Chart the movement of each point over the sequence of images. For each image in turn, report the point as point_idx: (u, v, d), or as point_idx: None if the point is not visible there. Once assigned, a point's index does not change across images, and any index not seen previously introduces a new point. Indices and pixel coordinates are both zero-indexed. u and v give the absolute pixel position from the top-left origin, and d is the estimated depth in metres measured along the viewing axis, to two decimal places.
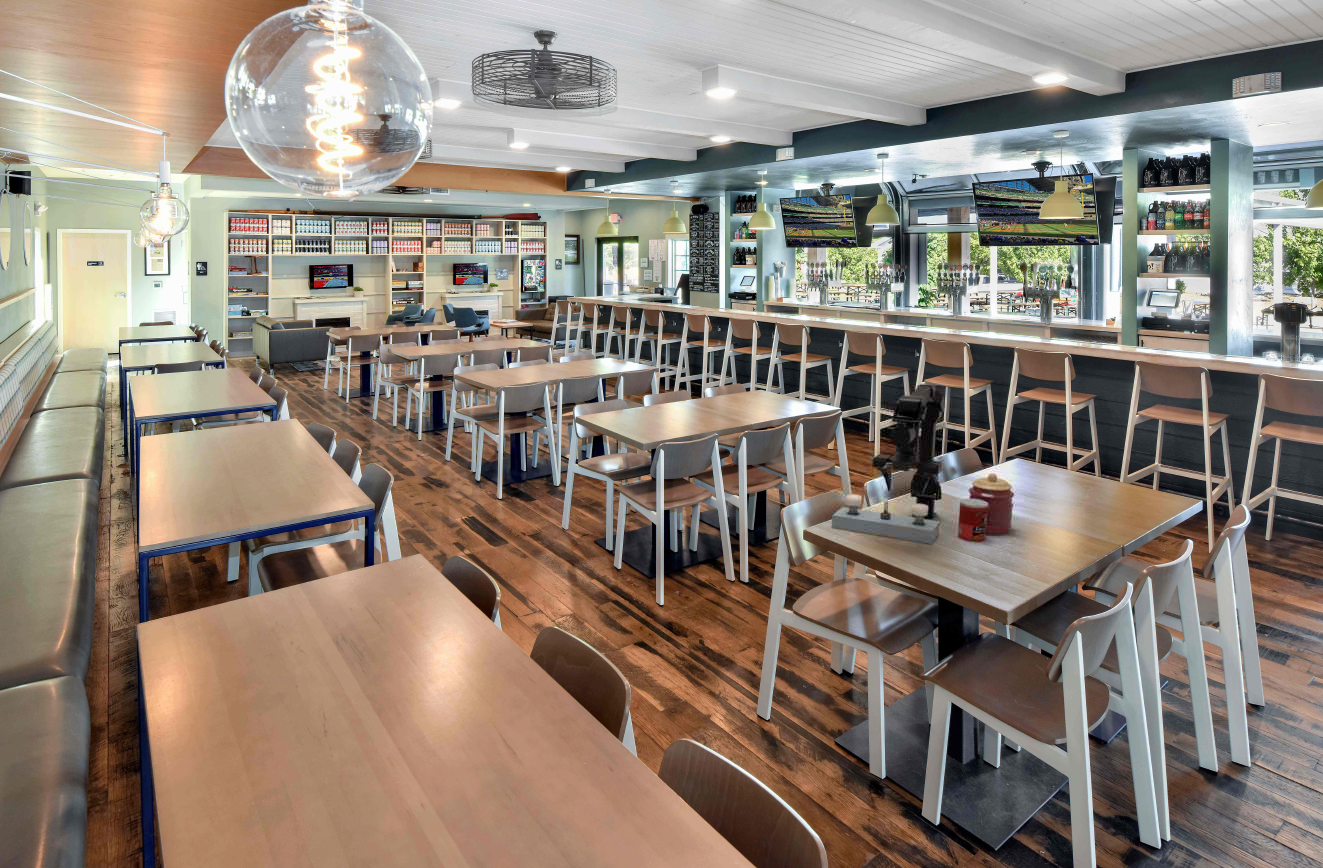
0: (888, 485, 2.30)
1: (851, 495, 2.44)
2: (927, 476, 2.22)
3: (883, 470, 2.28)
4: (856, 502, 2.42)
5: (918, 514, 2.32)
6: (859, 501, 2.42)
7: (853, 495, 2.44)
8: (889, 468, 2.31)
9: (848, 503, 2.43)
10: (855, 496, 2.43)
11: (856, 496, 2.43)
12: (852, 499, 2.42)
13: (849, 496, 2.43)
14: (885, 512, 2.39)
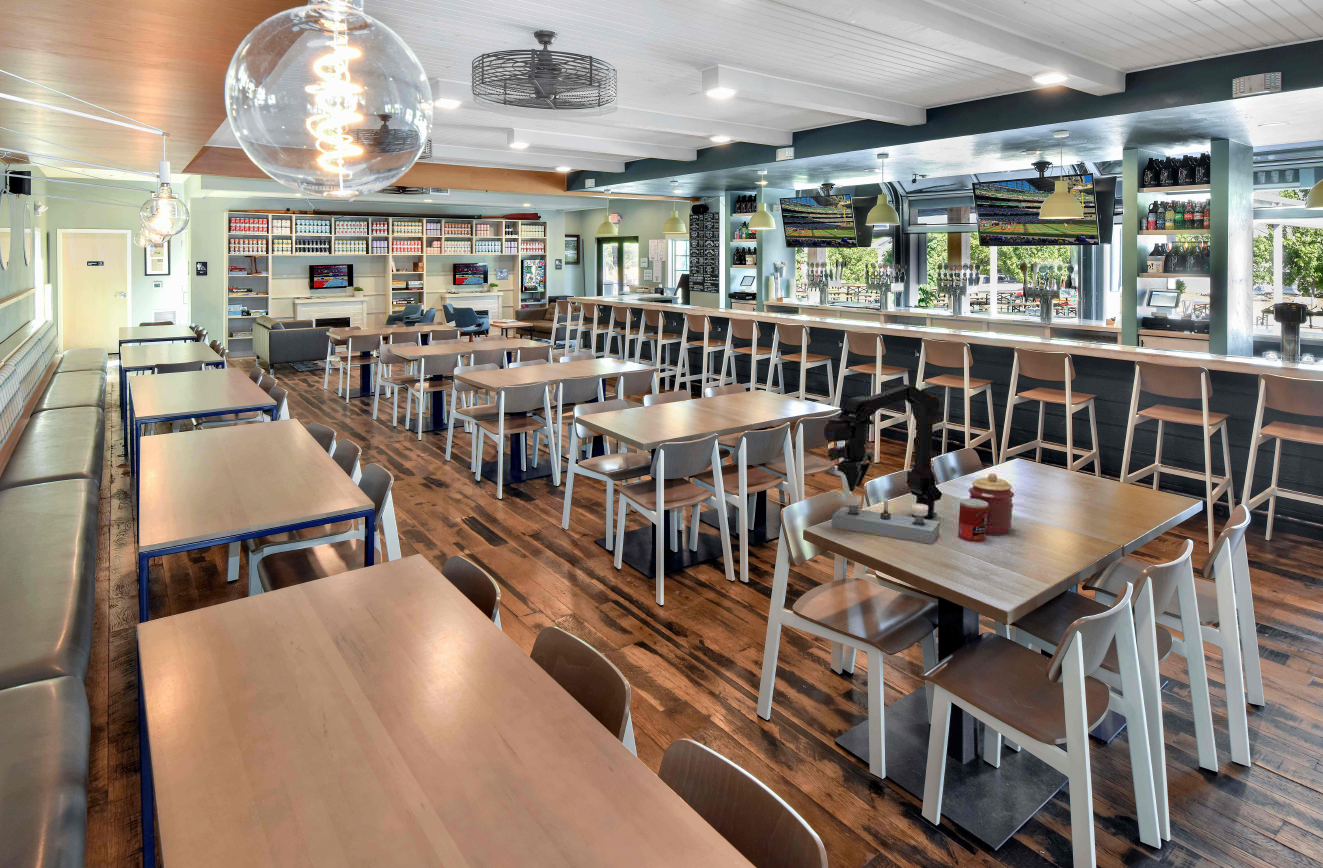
0: None
1: (851, 495, 2.44)
2: None
3: None
4: (856, 502, 2.42)
5: (918, 514, 2.32)
6: (859, 501, 2.42)
7: (853, 495, 2.44)
8: (861, 465, 2.45)
9: (848, 503, 2.43)
10: (855, 496, 2.43)
11: (856, 496, 2.43)
12: (852, 499, 2.42)
13: (849, 496, 2.43)
14: (885, 512, 2.39)
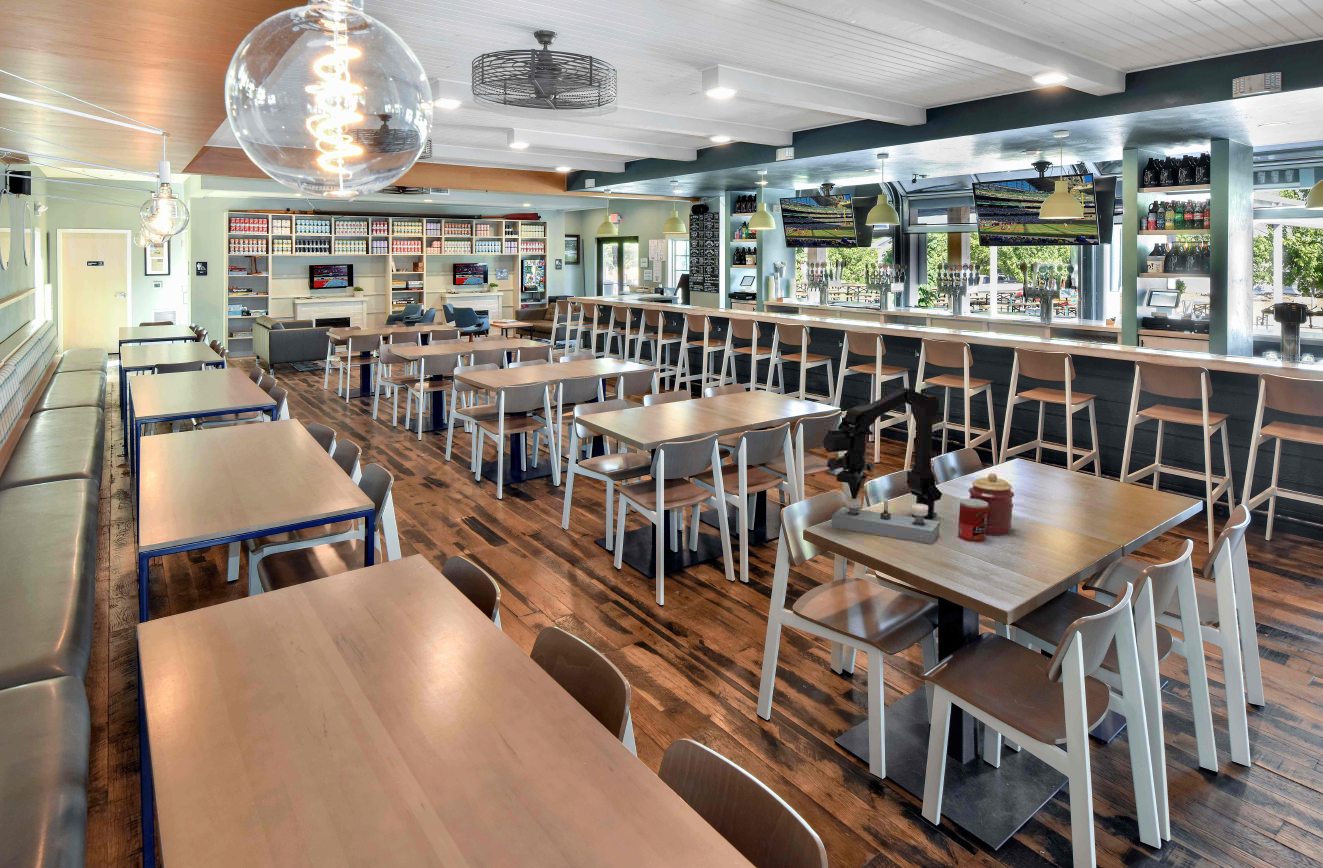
0: None
1: (851, 497, 2.45)
2: None
3: None
4: (856, 504, 2.42)
5: (918, 514, 2.32)
6: (859, 503, 2.42)
7: None
8: None
9: (848, 505, 2.43)
10: None
11: (856, 498, 2.44)
12: (852, 501, 2.42)
13: (849, 498, 2.44)
14: (885, 512, 2.39)
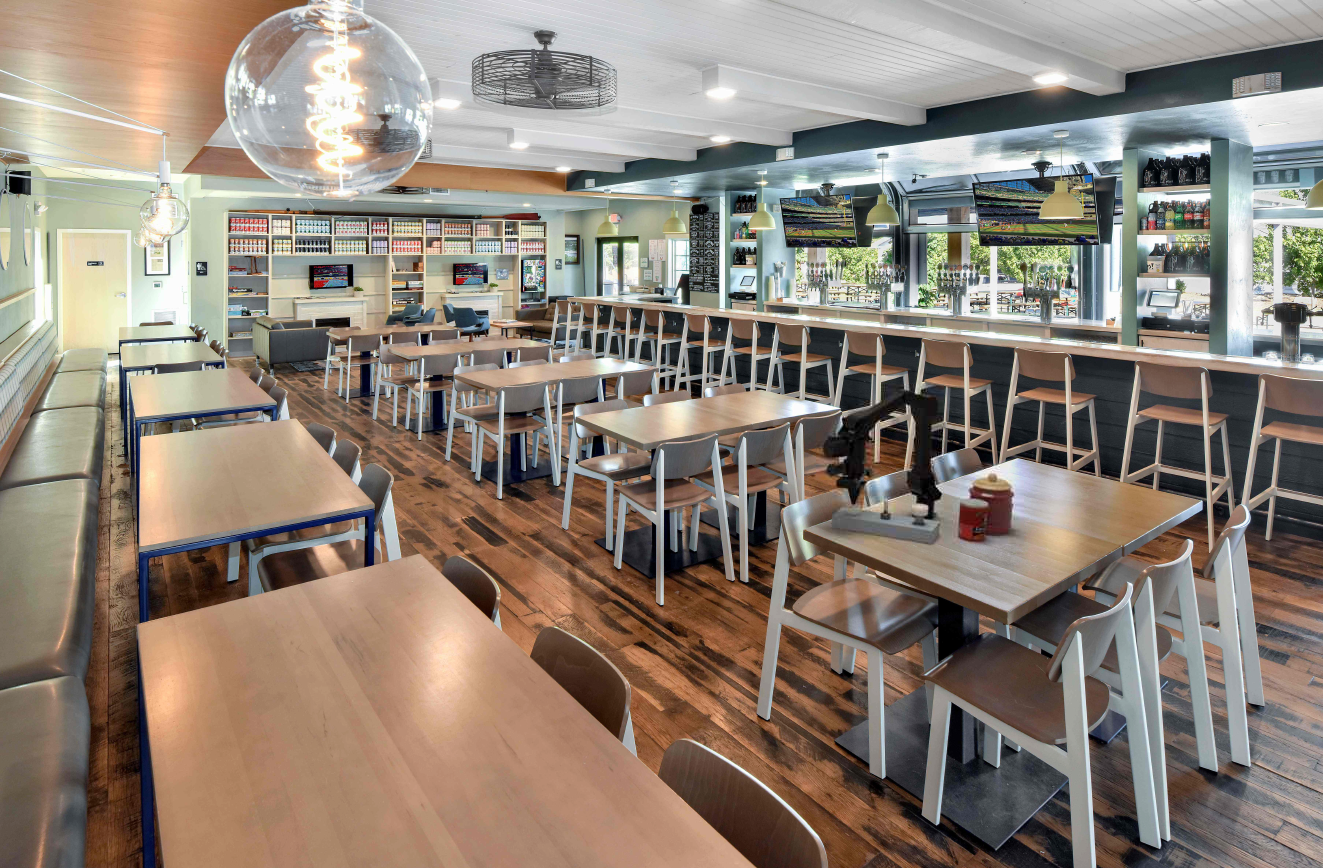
0: None
1: (851, 504, 2.45)
2: None
3: None
4: (856, 511, 2.42)
5: (918, 514, 2.32)
6: (859, 510, 2.43)
7: None
8: None
9: (848, 512, 2.43)
10: (855, 505, 2.44)
11: (856, 505, 2.44)
12: (852, 508, 2.42)
13: (849, 505, 2.44)
14: (885, 512, 2.39)
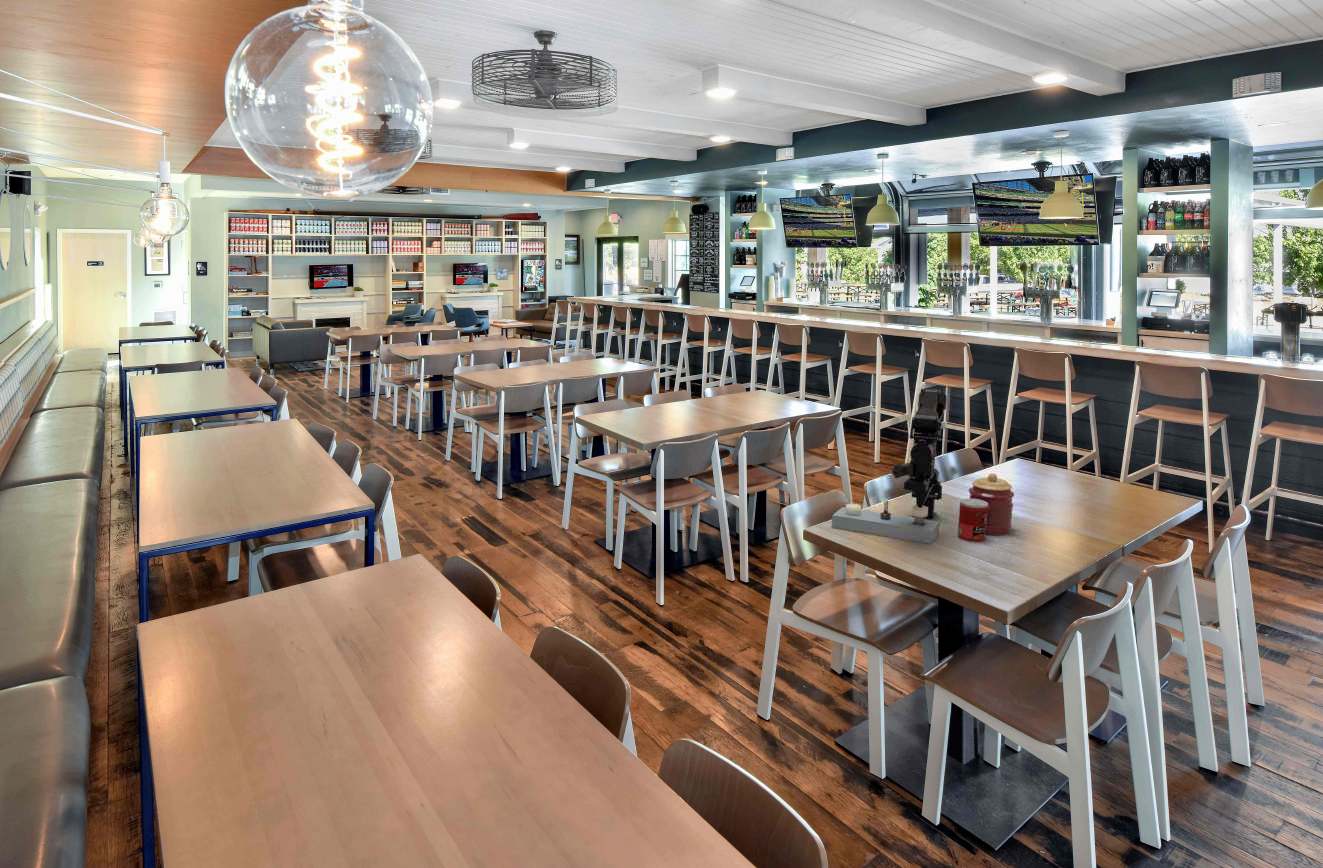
0: None
1: (851, 504, 2.45)
2: None
3: None
4: (856, 511, 2.42)
5: (918, 515, 2.32)
6: (859, 510, 2.43)
7: (853, 504, 2.45)
8: None
9: (848, 512, 2.43)
10: (855, 505, 2.44)
11: (856, 505, 2.44)
12: (852, 508, 2.42)
13: (849, 505, 2.44)
14: (885, 512, 2.39)
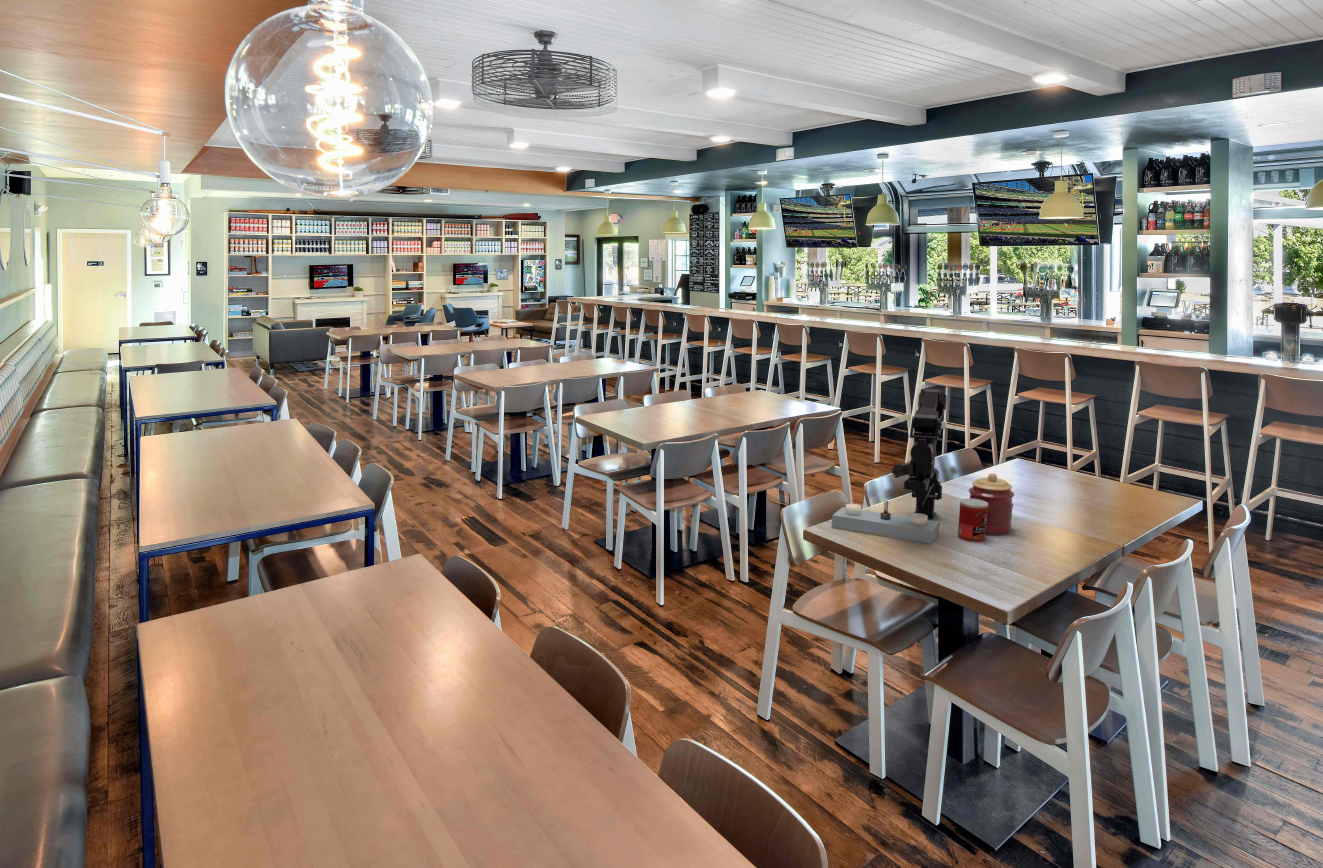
0: None
1: (851, 504, 2.45)
2: None
3: None
4: (856, 511, 2.42)
5: (917, 524, 2.33)
6: (859, 510, 2.43)
7: (853, 504, 2.45)
8: None
9: (848, 512, 2.43)
10: (855, 505, 2.44)
11: (856, 505, 2.44)
12: (852, 508, 2.42)
13: (849, 505, 2.44)
14: (885, 512, 2.39)
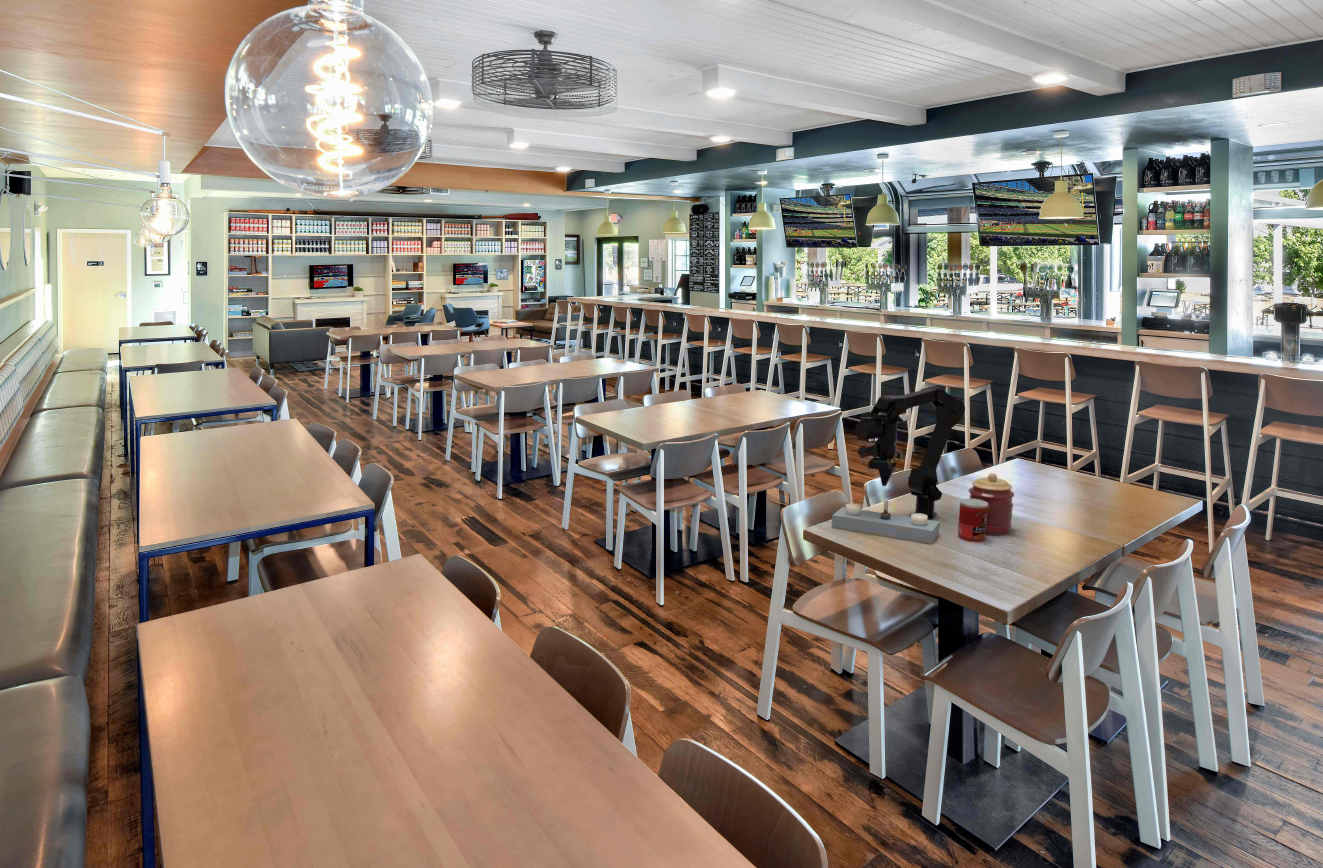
0: None
1: (851, 504, 2.45)
2: None
3: None
4: (856, 511, 2.42)
5: (917, 524, 2.33)
6: (859, 510, 2.43)
7: (853, 504, 2.45)
8: None
9: (848, 512, 2.43)
10: (855, 505, 2.44)
11: (856, 505, 2.44)
12: (852, 508, 2.42)
13: (849, 505, 2.44)
14: (885, 512, 2.39)
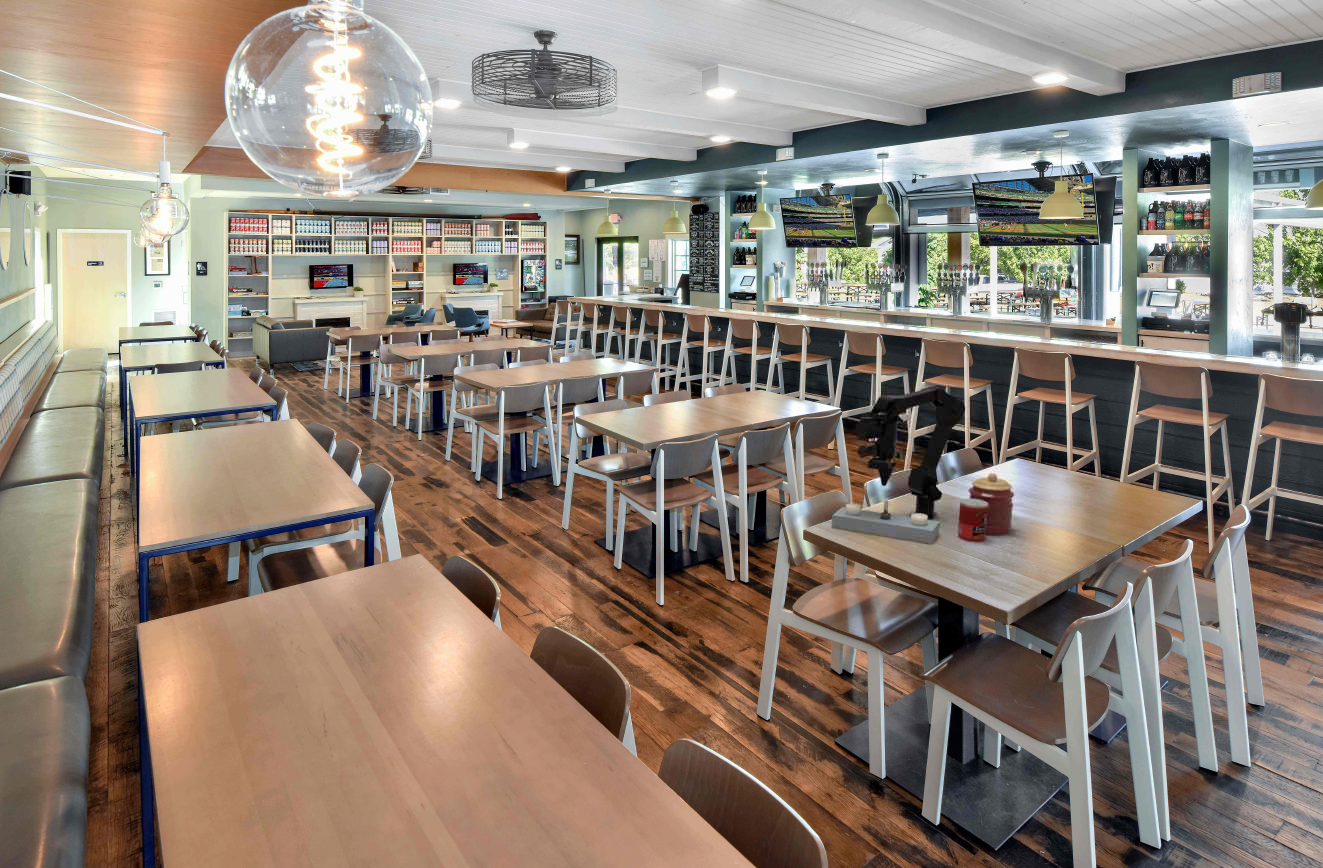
0: None
1: (851, 504, 2.45)
2: None
3: None
4: (856, 511, 2.42)
5: (917, 524, 2.33)
6: (859, 510, 2.43)
7: (853, 504, 2.45)
8: None
9: (848, 512, 2.43)
10: (855, 505, 2.44)
11: (856, 505, 2.44)
12: (852, 508, 2.42)
13: (849, 505, 2.44)
14: (885, 512, 2.39)
